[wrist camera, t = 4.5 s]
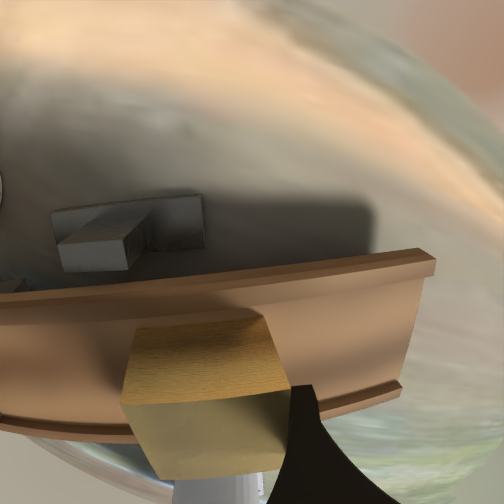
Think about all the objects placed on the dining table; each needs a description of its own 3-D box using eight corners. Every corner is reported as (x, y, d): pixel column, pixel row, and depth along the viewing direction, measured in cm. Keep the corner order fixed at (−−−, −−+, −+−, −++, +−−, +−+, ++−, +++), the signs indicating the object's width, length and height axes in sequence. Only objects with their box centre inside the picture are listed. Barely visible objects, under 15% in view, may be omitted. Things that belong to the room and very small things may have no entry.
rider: (265, 400, 14) (284, 467, 10) (162, 411, 13) (160, 480, 10) (263, 316, 12) (291, 388, 8) (136, 328, 11) (119, 404, 8)
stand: (227, 400, 19) (225, 448, 15) (115, 396, 19) (100, 439, 15) (201, 194, 14) (187, 218, 10) (55, 210, 14) (11, 235, 10)
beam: (365, 349, 20) (410, 413, 14) (-13, 378, 16) (-42, 435, 10) (382, 226, 16) (456, 272, 11) (-60, 276, 13) (-112, 323, 7)
